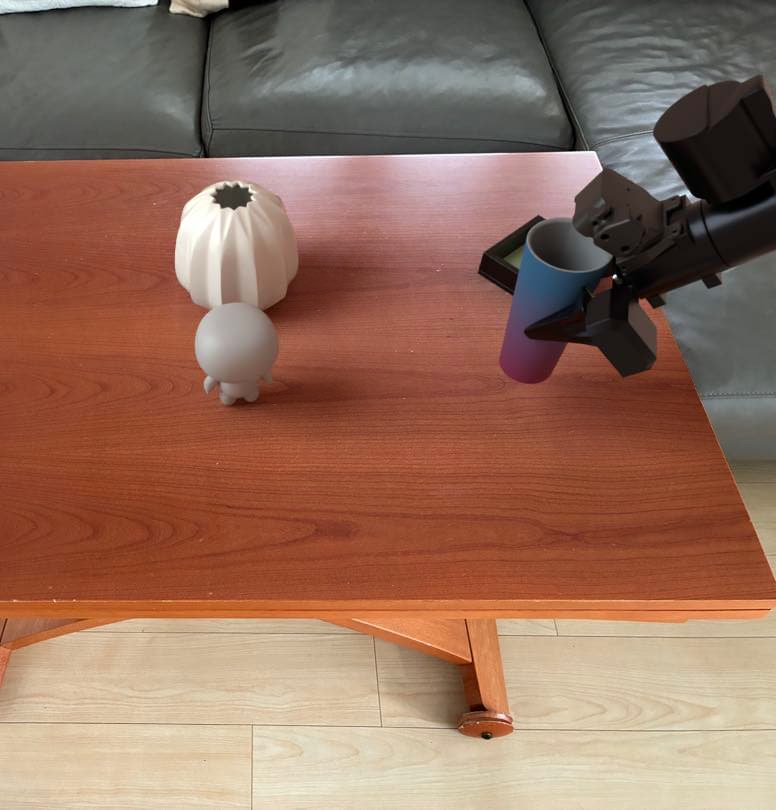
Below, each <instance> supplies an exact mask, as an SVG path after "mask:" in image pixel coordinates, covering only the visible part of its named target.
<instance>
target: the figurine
mask: <svg viewBox="0 0 776 810" xmlns="http://www.w3.org/2000/svg"><path fill="white" fill-rule="evenodd" d="M279 350H280V341H279V335H278V333H277V329H276V326H274V323H273V322H272V320H271V319H270V317H269V316H268V315H267V314H266V313H265V312H264V310H263V311H261V310H260V309H259V308H257V307H255V306H253V305H251V304H247V303H228V304H224V305H220V306H218V307H216V308H214V309H212V310H211V311H209V310H208V312H207V313H206V314H205V315H204V316H203V317H202V319H201V320H200V323H199V324H198V327H197V330H196V333H195V338H194V353H195V358H196V361H197V363H198V365H199V367H200V369H202V371H203V372H204V373H205V375H207V376H206V377H205V379H204V381H203V389H204V391H205V392H206V395H209V394H210V393H211V392H213V391H214V390H215V389H216V388H217V385H218V388H219V391H218V395H219V396H218V397H219V399H220V401H221V403H223V405H225V406H231V405H233V404H235V402H237V401H236V400H237V399H241V398H243V399H244V400H245V401H246V402H249V403H250V402H251V403H252V402H255V401H256V400H257V399H258V398H259V394H260V387H259V383H260V378H261V380H262V381H263V382H264V383H267V384H269V385H272V384H273V380H274V373H273V370H272V368H273V367H274V365H275V364H276V361H277V360H278V356H279Z"/></svg>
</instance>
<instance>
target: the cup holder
mask: <svg viewBox="0 0 776 810" xmlns="http://www.w3.org/2000/svg"><path fill="white" fill-rule="evenodd" d="M547 219H548V218H547ZM547 219H546V218H545V217H544V216H542V215H540V214H537V215H535V216H534V217H533V218H531V219H530V220H528V221H527V222H526V223H524V224H522V225H521V226H519V228H516V229H515V230H514V231H513V232H511V233H510V234H508V235H507V236H505V237H504V238H502V239H500V241H498V242H497V243H495V244H493V245H492V246H491V247H489V248H488V249H486V250H485V251H483V253H482V256H481V258H480V259H481V260H480V262H479V267H478V270H477V274H478V275H480V276H481V277H482V278H485V279H486V280H487V281H489V282H491V283H492V284H494V285H495V286H497V287H498V288H500V289H502V290H503V291H504V292H506V293H507V294H510V295H511V296H512V297H513V296H514V291H515V287H516V283H517V278H518V274H519V269H520V265H521V260H522V256H523V252H524V247H525V243H526V238H527V235H528V232H529V231H530V230H531V228H532V227H533V226H535V225H536V224H537V223H539V222H541V221H544V220H547Z"/></svg>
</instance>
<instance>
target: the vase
mask: <svg viewBox="0 0 776 810" xmlns="http://www.w3.org/2000/svg"><path fill="white" fill-rule="evenodd" d="M179 224H180V225H179V228H178V230H177V236H176V241H175V251H174V268H175V275H176V278H177V281H178V283H179V284H180V285H181V286H182V287H183V288H184V289H185V290H186V291H187V292H188V293H189V295H190V298H191V301H192V303H193V304H195V305H197V306H199V307H201V308H203V309H204V310H207V311H208V312H209V311H211V310H212V309H214V308H216V307H218V306H220V305H224V304H228V303H247V304H251V305H253V306H255V307H257V308H259V309H260V310H261V311H263V312H264V311H266V310H267V309H269V308H271V307H272V306H274V305H275V304H277V303H278V302H280V301H282V300H283V299H284V298H286V296H287V290H288V286H289V285H290V284H291V282H292V281H293V280H294V279H295V277H296V276H297V273H298V268H299V257H300V256H299V248H298V242H297V239H296V233H295V230H294V226H293V224H292V221H291V220H290V218H289V216H288V213H287V209H286V206H285V204H284V202H283V200H282V198H281V197H280V196H279V195H277V194H275V193H273V192H272V191H271V190H268V189H266V188H264V187H263V186H262V185H260V184H258V183H256V182H252V181H248V180H240V179H234V180H224V181H219V182H215V183H213V184H211V185H209V186H206V187H204V189H202V190H201V191H200V193H197V195H195V196H193V197H192V198H191V199H189V200H188V201H187V202H186V203H185V205H184V207H183V209H182V212H181V217H180V223H179Z"/></svg>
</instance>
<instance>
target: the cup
mask: <svg viewBox="0 0 776 810" xmlns="http://www.w3.org/2000/svg"><path fill="white" fill-rule="evenodd" d="M572 218H573V217H564V216H563V217H553V218H551V217H550V218H547V220H544V221H541V222H539V223H537V224H536V225H535V226H533V227H532V228H531V230H530V231H529V232H528V235H527V238H526V243H525V247H524V252H523V256H522V260H521V265H520V269H519V274H518V278H517V283H516V287H515V291H514V296H512V301H511V305H510V309H509V314H508V319H507V323H506V327H505V332H504V336H503V341H502V345H501V350H500V354H499V358H498V360H499V361H498V363H499V366H500V369H501V371H502V372H503V373H504V375H506V376H507V377H508V378H510V379H511V380H513V381H515V382H517V383H521V384H526V385H535V384H540V383H543V382H544V381H546V380H548V379H549V378H550V377H551V376H552V374H553V372H554V370H555V368H556V366H557V364H558V362H559V361H560V359H561V357H562V356H563V354H564V351H565V350H566V348H567V345H568V344H569V343H567V342H555V341H543V340H532V339H529V338H528V337H527V336H526V335H525V334H524V329H525V328H526V327H528V326H530V325H532V324H533V323H535V322H537V321H539V320H541V319H543V318H545V317H547V316H549V315H551V314H553V313H556V312H558V311H560V310H562V309H564V308H566V307H568V306H570V305H572V304H574V303H575V302H576V299H577V297H578V295H579V293H580V291H581V288H582V287H583V286H585V287H586V288H587V289H588V290H589V292H590V293H591V294H592V295H593V296H594V294H595V292H596V291H597V289H598V287H599V285H600V283H601V281H602V280H603V279H602V277H603V275H604V273H605V272H606V270H607V268H608V266H609V264H610V262H611V260H612V258H613V256H612V255H611V254H609V253H607V252H606V251H604V250H602V249H601V248H599V247H597V246H596V245H594V242H593V238H591V237H585V236H583V235H581V234H580V233H579V232H578V231H577V230H576V229H575V228H574V226H573V223H572Z"/></svg>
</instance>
